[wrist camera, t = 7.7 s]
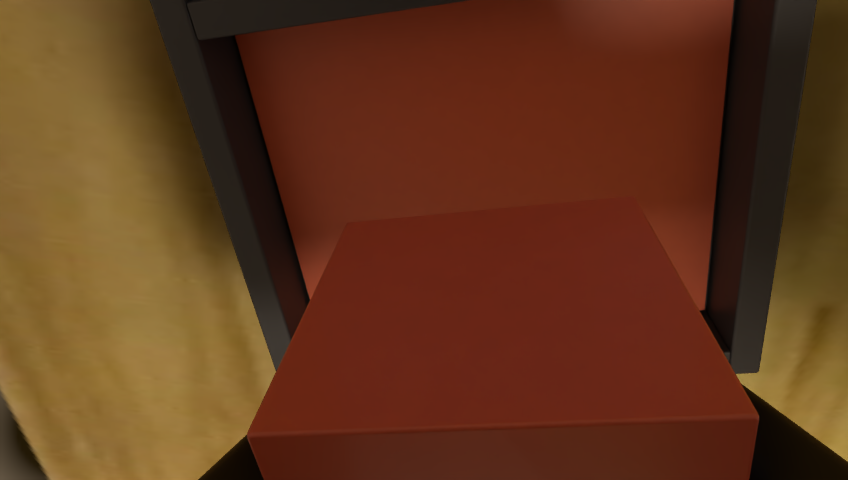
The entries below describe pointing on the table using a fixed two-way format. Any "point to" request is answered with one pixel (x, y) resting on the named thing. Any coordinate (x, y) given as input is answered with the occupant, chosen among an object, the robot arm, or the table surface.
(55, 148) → the table surface
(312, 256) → the tray
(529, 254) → the terracotta block
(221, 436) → the table surface
